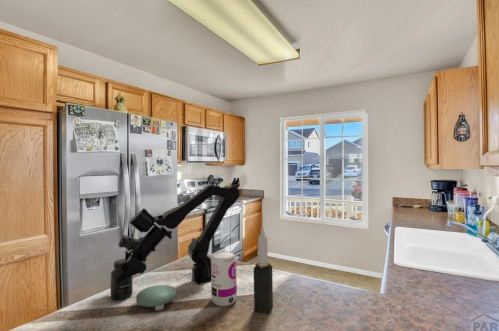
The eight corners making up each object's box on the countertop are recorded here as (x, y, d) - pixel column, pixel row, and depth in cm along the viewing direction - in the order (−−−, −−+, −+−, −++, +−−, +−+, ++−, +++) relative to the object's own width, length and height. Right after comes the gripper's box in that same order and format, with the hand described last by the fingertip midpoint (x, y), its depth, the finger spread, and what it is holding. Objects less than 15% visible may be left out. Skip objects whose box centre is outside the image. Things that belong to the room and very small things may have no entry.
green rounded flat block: (170, 290, 94) (169, 282, 94) (180, 305, 84) (180, 295, 84) (133, 299, 88) (133, 290, 88) (139, 317, 77) (139, 307, 77)
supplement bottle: (124, 302, 86) (123, 265, 86) (105, 300, 88) (105, 264, 88) (137, 292, 93) (136, 258, 93) (119, 290, 94) (119, 257, 94)
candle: (273, 305, 83) (272, 225, 83) (269, 314, 78) (268, 229, 78) (258, 303, 84) (257, 224, 84) (253, 311, 80) (251, 228, 80)
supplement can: (241, 297, 88) (240, 252, 88) (228, 309, 81) (228, 260, 81) (220, 292, 92) (219, 249, 92) (206, 304, 84) (206, 257, 84)
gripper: (132, 221, 100) (99, 255, 96) (134, 232, 84) (94, 274, 79) (154, 239, 104) (124, 273, 99) (161, 253, 87) (124, 294, 82)
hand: (117, 277), depth 90 cm, fingers closed on supplement bottle, 7 cm apart
